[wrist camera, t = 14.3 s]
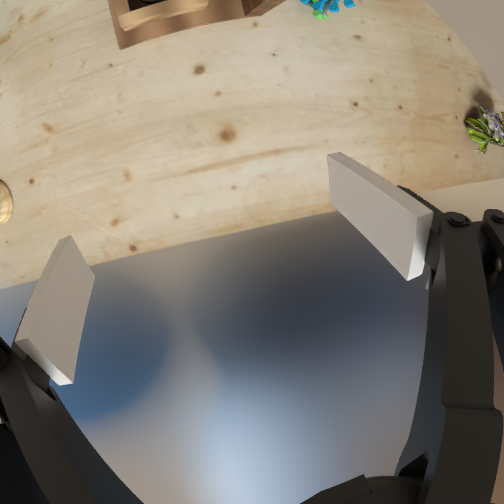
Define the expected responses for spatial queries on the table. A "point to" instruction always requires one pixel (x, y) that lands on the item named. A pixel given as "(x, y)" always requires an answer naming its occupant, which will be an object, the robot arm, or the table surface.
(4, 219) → the hand bell
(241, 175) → the table surface
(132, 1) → the wooden holder stand
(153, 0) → the bottle
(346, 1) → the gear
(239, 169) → the table surface
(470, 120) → the passion flower
